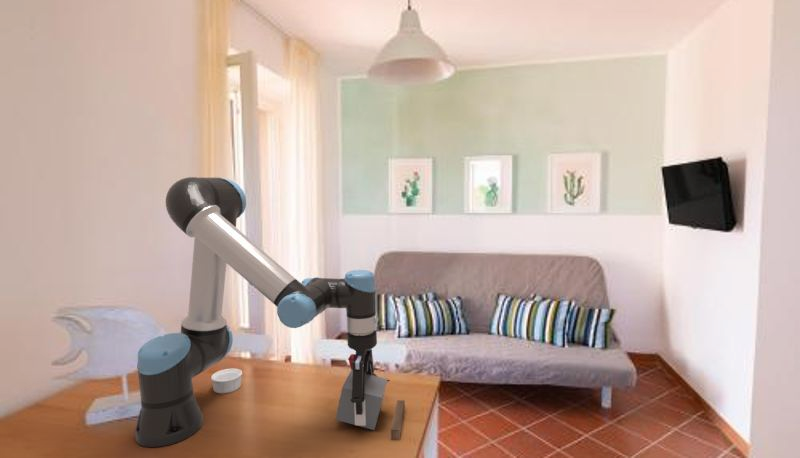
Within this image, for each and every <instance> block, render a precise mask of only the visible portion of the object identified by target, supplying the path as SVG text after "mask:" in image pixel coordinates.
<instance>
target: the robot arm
mask: <svg viewBox="0 0 800 458" xmlns="http://www.w3.org/2000/svg"><path fill="white" fill-rule="evenodd" d="M243 190H244V189H243V188H242V187H241V186H240V185H239V184H238V183H237V182H235V181H233V180H231V179H229V178H222V177H197V176H187V177H183V178H181V179H179V180H178V181H176V182H175V183H173V184H172V185H171V187H169V189H168V190H167V194H166V197H165V208H166V212H167V213H168V215H169V218H170V219H171V221H172V222H173V223H174V224H175V226H176V227H178V228H179V229H180V230H181V232H183V233H184V234H185V235H187V236H188V237H190V238H194V241H193V251H192V252H193V253H192V264H191V278H190V279H191V280H190V287H189V288H190V290H189V291H190V292H189V303H188V312H187V316H186V317H185V318H183V320H182V321H181V323H180V324H181V326H180V332H171V333H166V334H164V335H159V336H156V337H154V338H151V339H150V340H148V341H147V342H144V344H143V345H142V346H141V347H140V348H139V350H138V352H137V364H136V368H137V373H138V383H139V393H140V394H139V396H140V403H141V405H140V406H141V407H140V410H139V415H138V418H137V422H136V426H135V429H134V430H135V431H134V435H135V442H136V443H137V444H138V445H141V446H143V447H146V448H157V447H158V448H159V447H165V446H169V445H172V444H175V443H178V442H179V443H180V442H182V441H185V440H186V439H188V438H189V437H191V436H192V435H194V434H195V433H197V432H198V431H199V430H200V429H201V428H202V426H203V423H204V420H203V412H202V410H201V408H200V405H199V404H198V401H197V399H196V397H195V395H194V394H195V393H194V385H193V384H194V381H193V379H194V378H195V377H197V376H198V375H200V374H201V373H203V372H205V371H206V370H208V369H209V368H211V367H212V366H215V365H216V364H218V363H219V362H221V361H222V360H223V359H224V358H225V357H226V356H227V355H228V354H229V352H231V349H232V346H233V343H234V342H233V341H234V340H233V338H234V337H233V332H232V331H231V330H230V327H229V325H228V324H227V319H226V318H225V317H224V316H223V315H222V314H223V305H224V293H225V281H226V273H227V265H228V266H229V267H230V268H232V269H233V270H234V271H235V272H236V273H237V274H238V275H240V276H241V277H242V278H244V280H246V281H247V282H248V283H249V284H250V285H252V287H254V288H255V289H256V290H257V291H258V292H259V293H261V294H262V295H263V296H264V297H265V298H266V299H267V300H269V301H270V302H271V303H272V304H273V305H274V306H276V314H277V316H278V318H279V322H281V324H282V325H284V326H285V327H287V328H291V329H298V328H301V327H303V326H305V325H307V324H309V323H310V322H312V321H313V320H314V319H315V318H316V317H317V316H318V315H320V314H322V313H323V312H324V311H326V310H327V309H329V308H331V309H346V311H345V312H346V331H347V334H346V336H347V340H346V341H347V346H348V348H349V349H351V350H354V351H355V353H353V354H354V360H353V362H352V365H353V379H352V399H351V401H352V403H354V414H355V425H354V426H357V425H359V426H358V427H361V426H366V404H365V399H364V393H365V378H366V374H370V375H374V376H376V375H377V374H376V373H375V368H374V367H375V366H374V358H373V357H374V356H373V349H374V348H375V347H376V346H377V345H378V340H377V339H378V338H377V337H378V336H377V335H378V334H377V332H378V331H377V330H376V329H377V323H378V322H379V318H378V317H377V315H376V314H377V312H376V311H377V309H376V308H377V307H376V291H377V289H376V283H375V282H376V281H375V275H374V272H372V271H370V270H368V269H357V270H356V269H355V270H350V271H347V272H346V273H345V274H344V278H330V277H329V278H327V277H323V278H322V277H318V276H317V277H315V276H314V277H307V278H304V279H303V280H302V281H301V282H300V281H299V280H298V279H297V278H295V277H294V276H293V275H292V274H291V273H290V272H289V271H287V270H286V269H285V268H283V266H281V265H280V264H279V263H278V262H277V261H276V260H274V259H273V258H272V257H271V256H270V255H269V254H268V253H266V252H265V251H264V250H263V249H261V248H260V247H259V246H258V245H257V244H256V243H254V242H253V241H252V240H251V239H250V238H249V237H248V236H247V235H245V234H244V233H243V232H242V231H241V230H239V229H238V228H237V219H239V218H240V217H241V216H242V215H243V214H244V213H245V210H246V206H247V199H246V195H245V192H244V191H243ZM373 373H375V374H373Z"/></svg>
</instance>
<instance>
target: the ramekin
mask: <svg viewBox="0 0 800 458" xmlns="http://www.w3.org/2000/svg"><path fill="white" fill-rule="evenodd" d="M242 376H243V371H242V370H241V369H239V368H226V369H221V370H218V371H216V372H214V373H213V374H212V375H211V376H210V378H211V379H210V380H211V384H212V390H213V391H214V392H215V393H217V394H229V393H233V392H235V391H237V390H238V389H239V388H240V387H242Z"/></svg>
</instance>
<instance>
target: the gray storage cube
mask: <svg viewBox="0 0 800 458" xmlns="http://www.w3.org/2000/svg"><path fill="white" fill-rule="evenodd" d="M352 379H353V370H351V369H350V372H349V373H348V375H347V377H346V379H345V381H344V383H343V384H342V388H341V391H340V397H339V400H338V406H337V410H336V413H335V419H334V420H336V421H339V422H344V423H347V424H350V425H354V426H357V427H361V428H363V429H369V430H372V431H375V428H376V426H377V423H378V418H379V416H380V411H381V409H382V403H383V399H384V396H385V392H386V391H385V390H386V387H387V383H388V382H387V380H388V379H387V378H385V377H381V376H374V375H370V374H366V378H365V393H364V399H365V404H366V426H359V425H355V414H354V403H352V401H351V399H352Z"/></svg>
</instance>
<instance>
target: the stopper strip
mask: <svg viewBox="0 0 800 458" xmlns="http://www.w3.org/2000/svg"><path fill="white" fill-rule="evenodd" d="M405 403H406V402H405V400H404V399H402V400H398V399H397V400H396V405H395V410H394V414H393V418H392V419H393V420H392V423H391V428H390V439H391V440H394V441H395V440H397V441H398V440H400V437H401V434H402V433H401V432H402V427H403V420H404V415H405V409H406V408H405V407H406V405H405Z"/></svg>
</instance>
